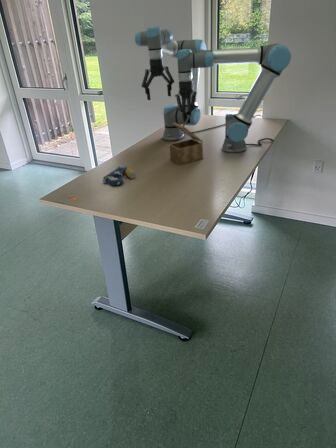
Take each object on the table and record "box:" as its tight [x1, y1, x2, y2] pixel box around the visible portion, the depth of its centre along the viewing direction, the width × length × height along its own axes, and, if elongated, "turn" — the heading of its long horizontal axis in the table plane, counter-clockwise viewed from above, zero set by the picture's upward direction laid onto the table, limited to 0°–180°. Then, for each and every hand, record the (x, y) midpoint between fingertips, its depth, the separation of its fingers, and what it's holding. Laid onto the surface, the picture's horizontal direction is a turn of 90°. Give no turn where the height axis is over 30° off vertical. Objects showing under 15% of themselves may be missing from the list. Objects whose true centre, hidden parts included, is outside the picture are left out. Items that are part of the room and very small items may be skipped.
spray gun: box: [102, 165, 136, 187], centre depth 189 cm, size 21×4×15 cm
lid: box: [173, 115, 204, 143], centre depth 201 cm, size 18×11×9 cm
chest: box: [168, 138, 204, 166], centre depth 207 cm, size 17×11×10 cm
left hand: (159, 98), depth 199 cm, fingers open, 13 cm apart
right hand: (187, 123), depth 198 cm, fingers closed on lid, 2 cm apart
